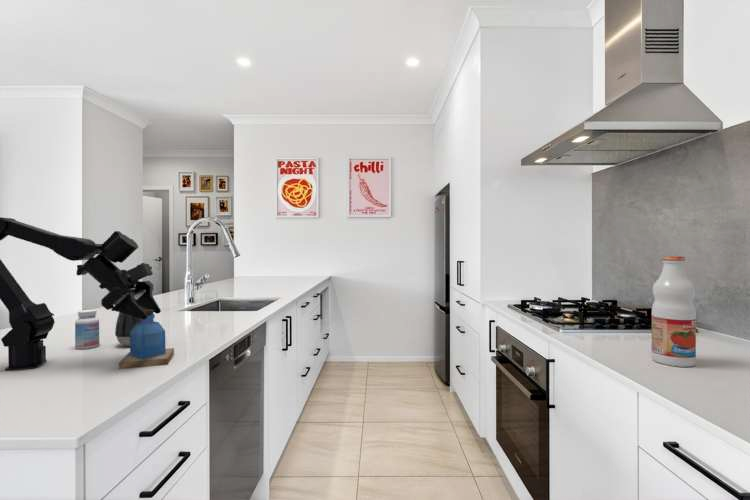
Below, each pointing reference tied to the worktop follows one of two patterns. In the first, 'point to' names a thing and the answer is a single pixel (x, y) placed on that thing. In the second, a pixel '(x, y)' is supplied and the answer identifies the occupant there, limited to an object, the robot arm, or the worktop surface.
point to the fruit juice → (674, 316)
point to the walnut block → (146, 360)
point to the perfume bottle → (147, 338)
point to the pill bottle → (86, 330)
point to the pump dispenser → (125, 327)
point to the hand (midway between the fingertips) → (153, 315)
